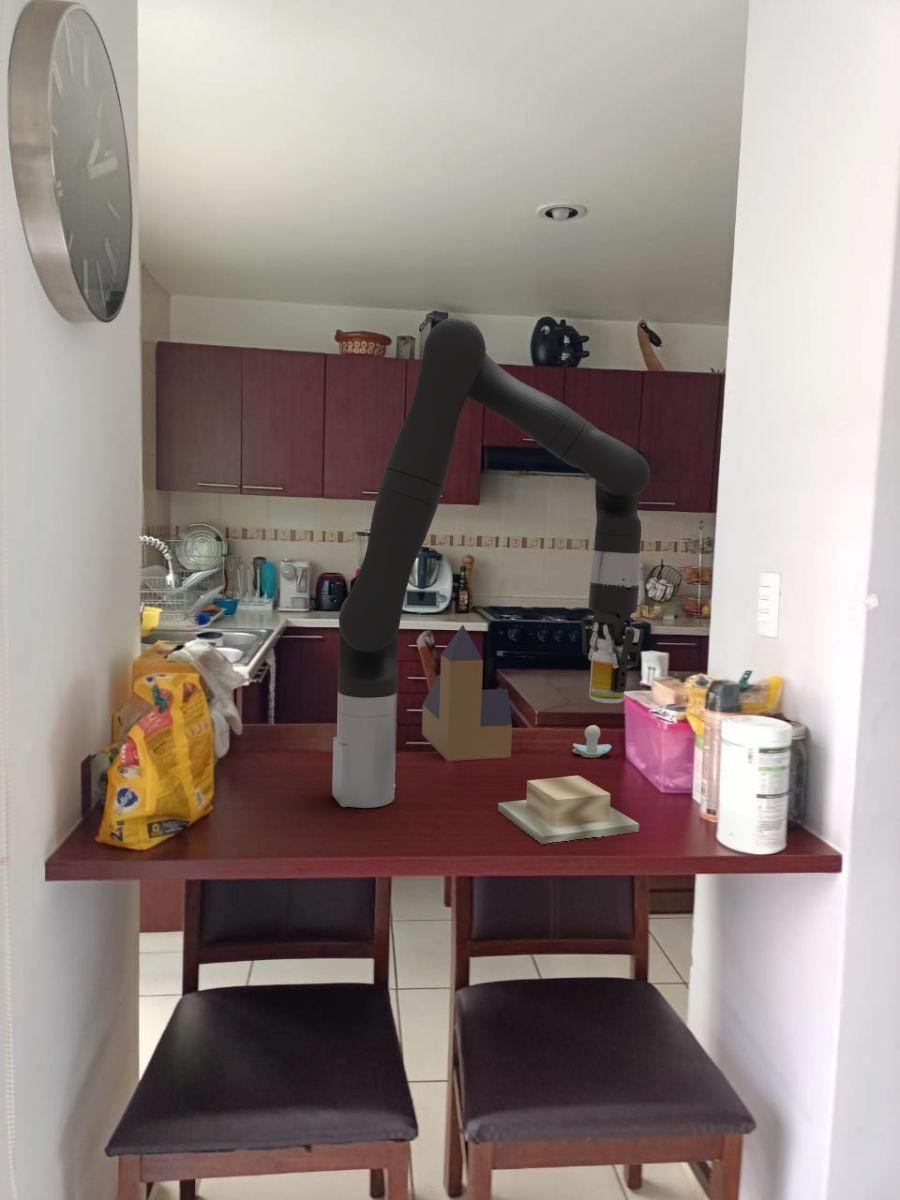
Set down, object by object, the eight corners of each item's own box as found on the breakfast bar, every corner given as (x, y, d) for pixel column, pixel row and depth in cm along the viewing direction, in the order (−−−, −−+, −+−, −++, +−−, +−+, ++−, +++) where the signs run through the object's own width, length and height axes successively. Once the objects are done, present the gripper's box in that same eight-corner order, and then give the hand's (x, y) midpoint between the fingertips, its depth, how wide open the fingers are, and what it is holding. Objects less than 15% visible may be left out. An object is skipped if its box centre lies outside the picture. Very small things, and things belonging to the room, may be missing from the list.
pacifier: (568, 751, 162) (574, 759, 156) (569, 719, 161) (576, 726, 155) (605, 751, 162) (613, 759, 156) (606, 720, 162) (614, 727, 156)
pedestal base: (541, 845, 114) (543, 808, 114) (498, 810, 127) (499, 777, 126) (638, 831, 120) (640, 797, 120) (587, 800, 133) (589, 768, 133)
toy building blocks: (447, 761, 152) (451, 626, 149) (421, 734, 170) (425, 614, 167) (510, 757, 155) (516, 626, 153) (479, 731, 173) (483, 613, 171)
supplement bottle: (626, 704, 128) (631, 642, 127) (591, 702, 128) (596, 640, 127) (619, 697, 133) (624, 637, 132) (586, 695, 133) (590, 635, 132)
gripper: (569, 576, 134) (562, 679, 135) (621, 585, 120) (612, 699, 122) (608, 577, 137) (601, 678, 138) (663, 586, 123) (654, 697, 125)
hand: (606, 687), depth 130 cm, fingers closed on supplement bottle, 5 cm apart
